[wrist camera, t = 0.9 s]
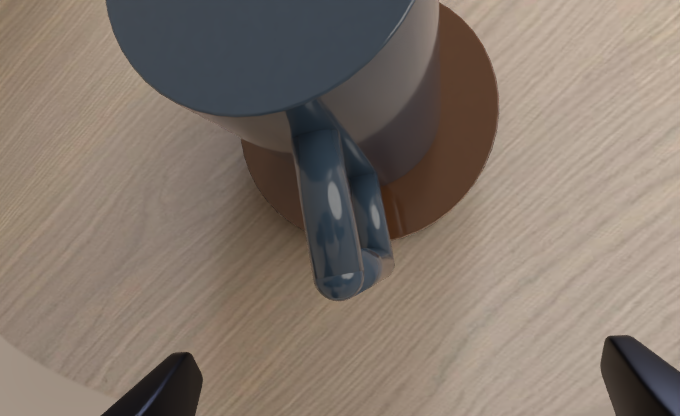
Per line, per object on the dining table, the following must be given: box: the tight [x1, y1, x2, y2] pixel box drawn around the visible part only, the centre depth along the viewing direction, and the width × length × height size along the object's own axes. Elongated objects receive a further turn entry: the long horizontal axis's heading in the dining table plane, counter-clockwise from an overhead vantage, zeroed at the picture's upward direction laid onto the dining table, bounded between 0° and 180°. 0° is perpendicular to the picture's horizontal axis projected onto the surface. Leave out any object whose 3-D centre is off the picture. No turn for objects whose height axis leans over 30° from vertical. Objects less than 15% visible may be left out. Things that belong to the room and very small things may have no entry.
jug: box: [106, 0, 499, 301], centre depth 17 cm, size 16×14×14 cm
